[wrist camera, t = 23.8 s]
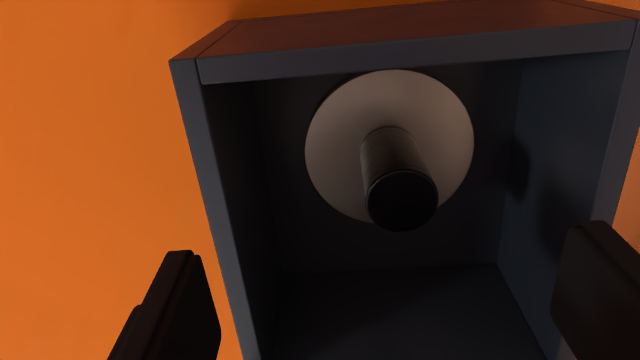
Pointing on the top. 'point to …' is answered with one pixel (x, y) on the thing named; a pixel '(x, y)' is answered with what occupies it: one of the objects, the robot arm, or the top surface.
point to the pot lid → (389, 147)
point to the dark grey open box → (450, 217)
